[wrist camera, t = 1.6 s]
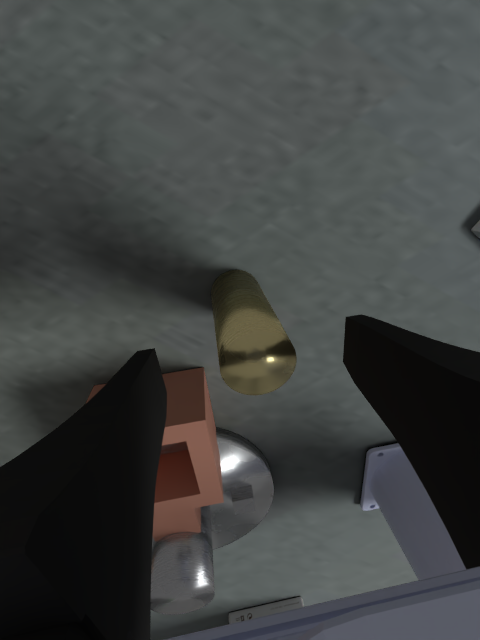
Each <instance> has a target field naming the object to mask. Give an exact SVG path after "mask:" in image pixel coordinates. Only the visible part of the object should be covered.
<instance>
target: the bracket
mask: <svg viewBox="0 0 480 640" xmlns="http://www.w3.org/2000/svg"><path fill="white" fill-rule="evenodd" d="M162 376H163V380H164V383H165V387H166V390H167V415H166V423H165V429H164V435H163V442H162V445H163V446H164V445H165V447H164V449H165V450H161V453H162V452H163V453H162V454H160V460H159V466H158V472H157V479H156V487H155V502H154V518H153V538H154V541H155V542H156V541H159V540H160V539H161V538H163V537H165V536H167V535H170V534H173V533H177V532H197V533H200V532H201V507H203V506H208V505H213V504H218V503H223V502H224V499H223V487H222V475H221V463H220V454H219V449H218V444H217V437H216V426H215V421H214V416H213V411H212V406H211V401H210V396H209V392H208V387H207V382H206V377H205V372H204V367H202V368H196V369H190V370H184V371H178V372H172V373H166V374H162ZM105 385H106V384H101V385H95V386H94V387H93V389H92V391H91V393H90V395H89V397H88V399H87V401H86V403H87V402H88V401H89V400H90V399H91V398H92V397H93V396H94V395H96V394H97V393H98V392H99V391H100V390H101V389H102V388H103V387H104V386H105ZM182 442H183V443H182ZM186 442H187V443H186ZM173 443H175V444H176V443H179V444H176V445H174V444H173ZM168 444H169V445H168ZM171 444H173V446H172V445H171ZM167 445H168V446H169V447H170V446H172V447H170V448H169V447H168V446H167ZM177 445H178V446H177ZM163 446H162V447H163ZM174 446H175V447H174ZM183 446H184V447H183ZM185 446H186V447H185ZM166 447H168V448H166ZM178 447H179V449H177V448H178ZM180 447H181V448H180ZM173 448H175V449H173ZM186 448H187V450H182V449H186ZM161 449H163V448H161ZM167 449H168V450H167ZM170 449H171V450H170ZM169 450H170V451H169ZM174 450H175V452H174ZM178 450H179V451H178ZM180 450H181V451H180ZM164 451H166V453H167V454H166V453H164ZM167 451H168V452H167ZM172 451H173V452H172ZM177 451H178V452H177Z"/></svg>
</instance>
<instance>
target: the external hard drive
mask: <svg viewBox="0 0 480 640" xmlns="http://www.w3.org/2000/svg"><path fill="white" fill-rule="evenodd" d="M471 231H472V232H473V233H474V234H475V235H476V236H477V237H478V238H480V220H479V221H478V222H477V223H476V224H475V226H474V227H473V228H472V229H471Z"/></svg>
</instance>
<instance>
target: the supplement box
mask: <svg viewBox="0 0 480 640" xmlns="http://www.w3.org/2000/svg"><path fill="white" fill-rule="evenodd" d="M301 607H304V605H303V600H302V597H296V598H292V599H287V600H283V601H278V602H274V603H270V604H266V605H261V606H257V607H252V608H248V609H244V610H239V611H235V612H231V613H229V624H232V623H236V622H241V621H245V620H249V619H254V618H258V617H262V616H267V615H271V614H275V613H280V612H284V611H288V610H293V609H297V608H301Z"/></svg>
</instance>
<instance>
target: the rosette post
mask: <svg viewBox="0 0 480 640" xmlns="http://www.w3.org/2000/svg"><path fill="white" fill-rule="evenodd" d="M216 437H217V444H218V449H219V454H220V463H221V475H222V487H223V499H224V502H223V503H218V504H213V505H208V506H203V507H201V532H200V533H197V532H177V533H173V534H170V535H167V536H165V537H163V538H161V539H160V540H159V541H156V542H155V541H154V538H153V539H152V565H151V608H150V609H151V610H153V611H155V612H158V613H162V614H183V613H188V612H192V611H195V610H198V609H200V608H202V607H204V606H206V605H207V604H208V603H209V602H211V600H212V599H213V597H214V570H213V550H214V549H217V548H220V547H223V546H225V545H228V544H230V543H232V542H234V541H236V540H238V539H239V538H241V537H243V536H244V535H246V534H247V533H249V532H250V531H251V530H252V529H254V528H255V527H256V526H257V525H258V524H259V523H260V522H261V521H262V519H263V518H264V517H265V516H266V514H267V512H268V511H269V509H270V507H271V504H272V501H273V496H274V485H273V480H272V476H271V472H270V468H269V465H268V462H267V460H266V458H265V457H264V455H263V454H262V452H261V451H260V450H259V449H258V448H257V447H256V446H255V445H254V444H253V443H251V442H250V441H249V440H247V439H245V438H243V437H242V436H240V435H238V434H235V433H233V432H230V431H228V430H224V429H220V428H216ZM182 443H183V442H182ZM186 443H187V442H186ZM173 444H174V445H176V444H179V443H176V444H175V443H173ZM173 444H171V445H172V446H173ZM168 445H169V444H168ZM168 445H167V446H168ZM162 446H163V445H162ZM172 446H170V447H172ZM177 446H178V445H177ZM164 447H165V445H164V446H163V447H162V448H163V449H161V450H165V449H164ZM168 447H169V446H168ZM168 447H166V448H168ZM170 447H169V448H170ZM174 447H175V446H174ZM183 447H184V446H183ZM185 447H186V446H185ZM180 448H181V447H180ZM173 449H175V448H173ZM177 449H179V447H178V448H177ZM167 450H168V449H167ZM170 450H171V449H170ZM170 450H169V451H170ZM182 450H187V448H186V449H182ZM178 451H179V450H178ZM178 451H177V452H178ZM180 451H181V450H180ZM167 452H168V451H167ZM172 452H173V451H172ZM174 452H175V450H174ZM162 453H163V452H162ZM162 453H161V454H162ZM164 453H166V451H164ZM166 454H167V453H166Z"/></svg>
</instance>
